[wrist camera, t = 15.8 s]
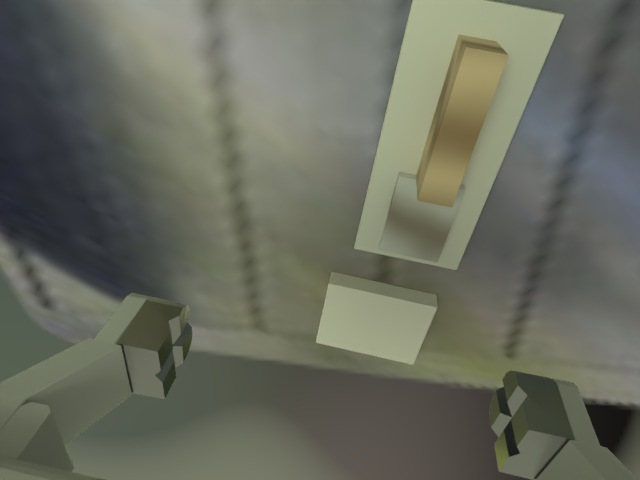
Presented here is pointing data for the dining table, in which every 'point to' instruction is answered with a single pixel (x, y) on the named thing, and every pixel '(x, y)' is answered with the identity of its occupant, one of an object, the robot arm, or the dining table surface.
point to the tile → (375, 318)
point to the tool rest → (422, 98)
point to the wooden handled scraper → (444, 153)
